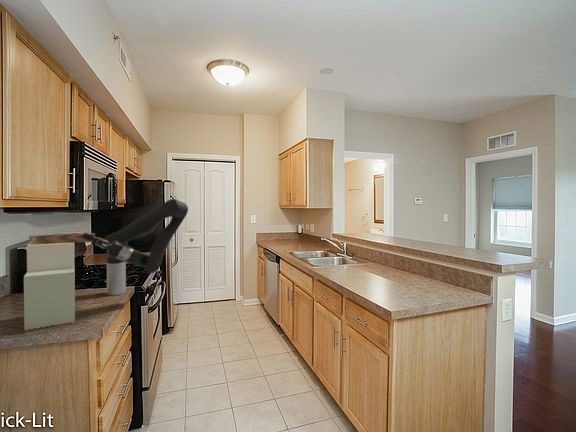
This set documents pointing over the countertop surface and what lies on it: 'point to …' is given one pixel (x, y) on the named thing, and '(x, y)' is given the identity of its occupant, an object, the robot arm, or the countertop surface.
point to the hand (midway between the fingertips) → (83, 234)
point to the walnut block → (57, 238)
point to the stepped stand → (49, 285)
